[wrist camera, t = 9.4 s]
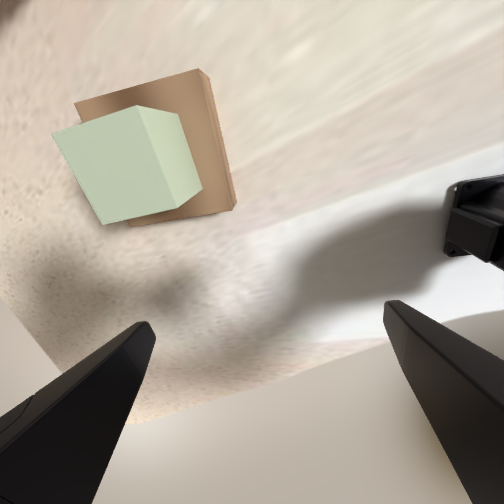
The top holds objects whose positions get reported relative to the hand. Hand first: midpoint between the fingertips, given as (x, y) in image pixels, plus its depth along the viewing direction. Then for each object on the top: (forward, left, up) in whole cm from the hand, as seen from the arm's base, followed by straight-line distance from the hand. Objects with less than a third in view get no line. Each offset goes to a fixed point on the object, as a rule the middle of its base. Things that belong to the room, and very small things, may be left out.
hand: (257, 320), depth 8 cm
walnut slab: (+7, -6, -14) cm, 16 cm away
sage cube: (+7, -6, -10) cm, 14 cm away
